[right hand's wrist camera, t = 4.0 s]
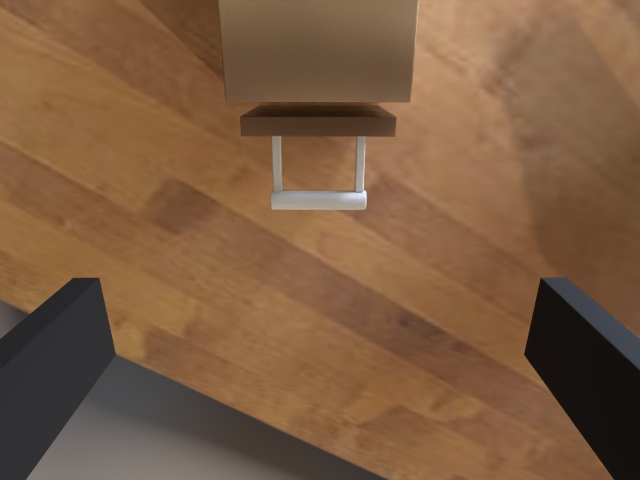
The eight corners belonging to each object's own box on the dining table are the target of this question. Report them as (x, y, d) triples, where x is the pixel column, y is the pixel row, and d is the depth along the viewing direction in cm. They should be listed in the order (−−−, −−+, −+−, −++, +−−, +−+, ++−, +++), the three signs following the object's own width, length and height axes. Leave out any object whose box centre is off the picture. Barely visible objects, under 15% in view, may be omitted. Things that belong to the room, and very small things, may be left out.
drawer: (374, 187, 37) (389, 221, 28) (263, 187, 37) (246, 220, 28) (391, -154, 28) (421, -246, 20) (246, -154, 28) (215, -246, 20)
